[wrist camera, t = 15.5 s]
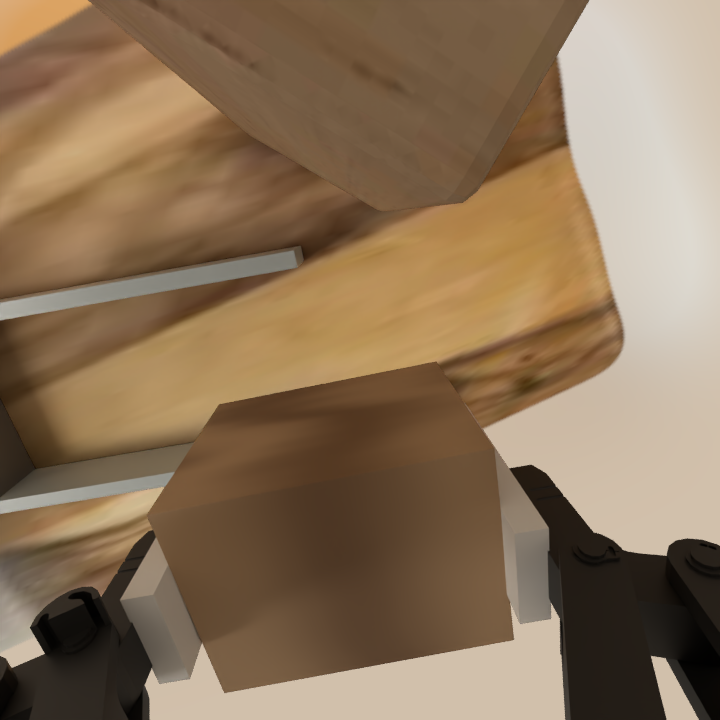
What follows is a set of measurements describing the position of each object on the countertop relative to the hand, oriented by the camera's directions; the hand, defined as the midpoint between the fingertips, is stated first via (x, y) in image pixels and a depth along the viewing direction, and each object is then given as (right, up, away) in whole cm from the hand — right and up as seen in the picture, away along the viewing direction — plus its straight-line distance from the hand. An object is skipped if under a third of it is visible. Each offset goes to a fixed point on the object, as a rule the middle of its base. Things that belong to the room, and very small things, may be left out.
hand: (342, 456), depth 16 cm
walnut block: (0, 0, 0) cm, 0 cm away
